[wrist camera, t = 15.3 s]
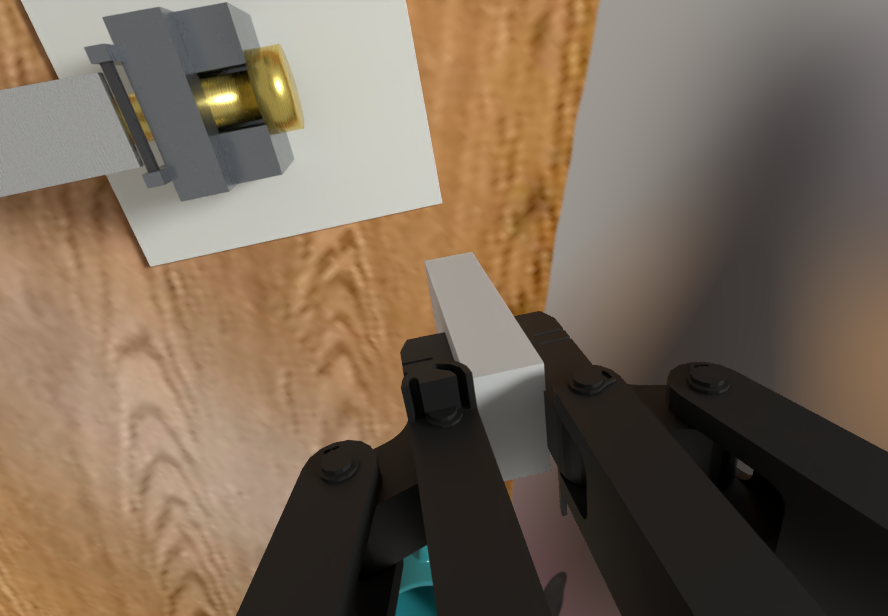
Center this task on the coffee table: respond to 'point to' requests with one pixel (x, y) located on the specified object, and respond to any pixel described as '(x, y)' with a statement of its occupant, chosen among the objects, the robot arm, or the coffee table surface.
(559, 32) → the coffee table surface
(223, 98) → the pin
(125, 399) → the coffee table surface
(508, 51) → the coffee table surface
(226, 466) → the coffee table surface
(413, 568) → the cup
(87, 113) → the grey flat brushed plate
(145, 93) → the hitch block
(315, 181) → the mat
